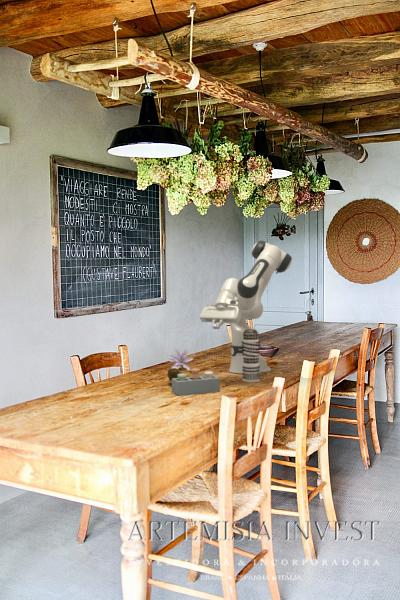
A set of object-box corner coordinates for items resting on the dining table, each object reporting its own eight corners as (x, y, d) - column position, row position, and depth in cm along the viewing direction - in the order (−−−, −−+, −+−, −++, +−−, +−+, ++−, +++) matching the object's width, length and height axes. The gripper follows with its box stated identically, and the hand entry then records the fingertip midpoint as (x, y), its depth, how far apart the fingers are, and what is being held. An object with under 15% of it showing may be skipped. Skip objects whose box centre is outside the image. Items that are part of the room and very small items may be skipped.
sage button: (184, 388, 280) (184, 373, 280) (187, 390, 276) (187, 374, 276) (176, 389, 279) (176, 374, 278) (179, 391, 275) (179, 375, 274)
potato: (191, 382, 302) (191, 365, 301) (176, 386, 291) (175, 370, 290) (177, 380, 306) (177, 364, 306) (162, 385, 295) (161, 368, 295)
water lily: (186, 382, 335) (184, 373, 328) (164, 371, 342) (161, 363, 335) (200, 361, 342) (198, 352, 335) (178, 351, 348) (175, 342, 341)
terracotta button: (198, 383, 282) (198, 368, 282) (201, 384, 279) (201, 369, 278) (190, 383, 281) (189, 368, 280) (193, 385, 277) (192, 370, 277)
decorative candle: (259, 382, 298) (259, 331, 297) (240, 381, 300) (240, 330, 298) (261, 378, 307) (261, 328, 306) (243, 378, 309) (242, 328, 307)
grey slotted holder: (212, 387, 288) (212, 374, 287) (219, 391, 279) (219, 378, 279) (171, 391, 281) (171, 378, 280) (178, 395, 272) (178, 382, 272)
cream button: (211, 386, 285) (211, 371, 284) (214, 387, 281) (214, 372, 281) (203, 386, 283) (203, 371, 283) (206, 388, 280) (206, 373, 279)
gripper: (202, 301, 301) (193, 323, 293) (241, 302, 292) (233, 324, 284) (206, 309, 305) (198, 331, 297) (245, 310, 296) (237, 333, 288)
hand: (215, 328), depth 290 cm, fingers closed
